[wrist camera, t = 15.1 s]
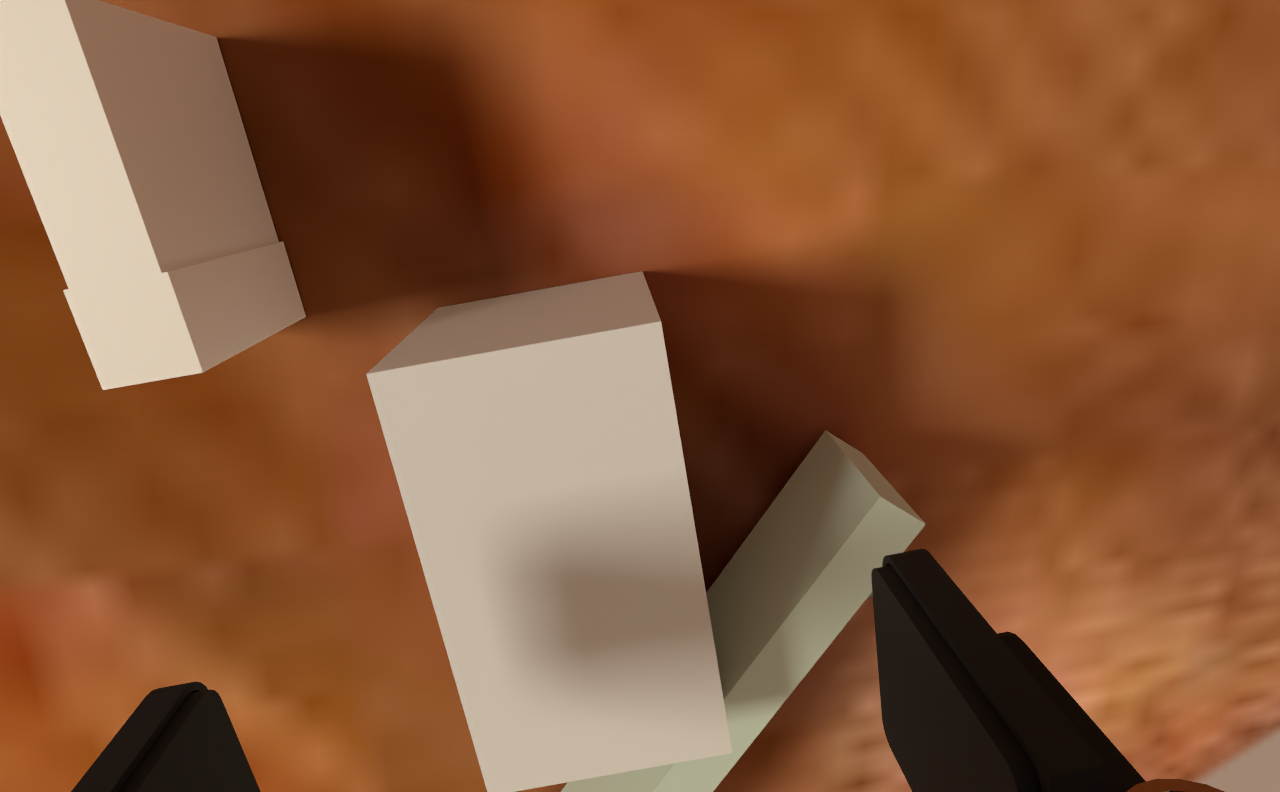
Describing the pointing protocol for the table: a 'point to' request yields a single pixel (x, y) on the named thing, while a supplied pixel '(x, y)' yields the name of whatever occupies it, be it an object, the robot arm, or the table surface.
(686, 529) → the block
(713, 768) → the door
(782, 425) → the table surface
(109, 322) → the notched cream block
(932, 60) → the table surface
